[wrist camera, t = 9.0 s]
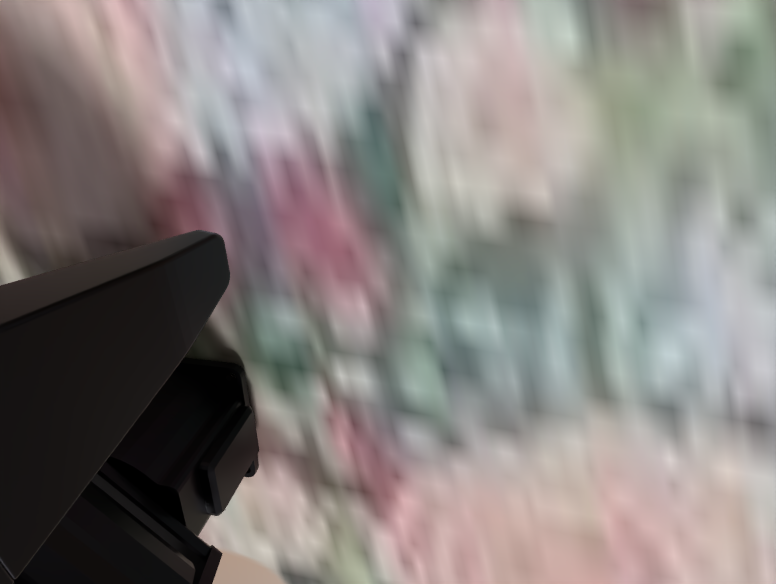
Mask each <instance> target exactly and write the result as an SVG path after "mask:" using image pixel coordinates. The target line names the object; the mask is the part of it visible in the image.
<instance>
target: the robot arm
mask: <svg viewBox="0 0 776 584" xmlns="http://www.w3.org/2000/svg"><path fill="white" fill-rule="evenodd" d="M229 280H230V271H229V265H228V260H227V254H226V249H225V243H224V240H223V238H222V237H221V236H220V235H219V234H217V233H212V232H208V231H203V230H196V231H192V232H188V233H185V234H181V235H178V236H174V237H171V238H167V239H164V240H160V241H157V242H153V243H149V244H146V245H142V246H139V247H135V248H132V249H128V250H125V251H121V252H118V253H114V254H110V255H107V256H103V257H100V258H96V259H93V260H89V261H86V262H82V263H79V264H75V265H72V266H68V267H64V268H61V269H57V270H54V271H50V272H47V273H43V274H40V275H36V276H33V277H29V278H26V279H22V280H18V281H15V282H11V283H8V284H4V285H1V286H0V584H212V582H213V580H214V577H215V574H216V571H217V568H218V565H219V562H220V559H221V556H222V553H221V552H220V551H219V550H218V549H216V548H215V547H214V546H213V545H211V546H209V545H208V544H207V543H205V542H204V541H203V540H202V539H201V538H199V537H198V535H199V534H200V532H201V531H202V529H203V527H204V526H205V524H206V522H207V521H208V519H209V517H210V516H211V515H215V516H219V515H220V514H221V513H222V512H223V511H224V510H225V508H226V506H227V505H228V503H229V501H230V500H231V498H232V496H233V495H234V493H235V491H236V489H237V488H238V486H239V484H240V483H241V481H242V479H243V477H252V476H254V475H255V473H256V471H257V470H258V467H259V464H258V457H257V454H258V452H259V446H258V439H257V432H256V425H255V418H254V412H253V410H252V408H251V407H250V404H249V397H248V391H247V384H246V377H245V372H244V370H243V369H242V367H241V366H239V365H238V364H234V363H227V362H218V361H208V360H199V359H190V358H184V357H185V355H186V354H187V353H188V351H189V349H190V348H191V346H192V345H193V343H194V342H195V340H196V338H197V337H198V335H199V333H200V332H201V330H202V328H203V327H204V325H205V323H206V322H207V320H208V318H209V317H210V315H211V313H212V312H213V310H214V308H215V307H216V305H217V303H218V302H219V300H220V299H221V297H222V295H223V294H224V292H225V290H226V289H227V286H228V284H229ZM230 373H233V374H234V375H235V376H236V377H234V376H232V375H231V374H230Z"/></svg>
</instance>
